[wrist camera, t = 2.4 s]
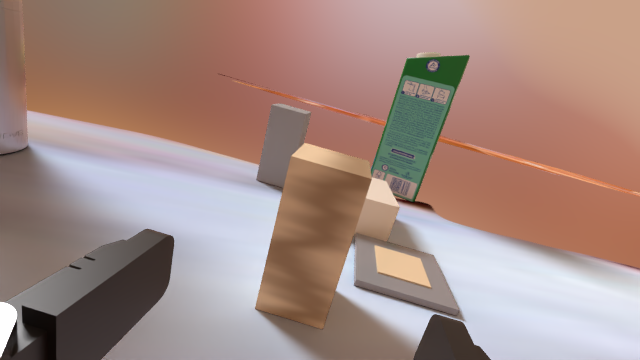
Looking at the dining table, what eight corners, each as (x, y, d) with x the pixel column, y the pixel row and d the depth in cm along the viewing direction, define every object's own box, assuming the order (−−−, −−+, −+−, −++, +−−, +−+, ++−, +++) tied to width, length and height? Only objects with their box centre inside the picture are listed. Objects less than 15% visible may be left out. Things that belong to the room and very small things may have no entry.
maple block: (254, 308, 21) (291, 155, 17) (273, 269, 25) (304, 143, 22) (322, 329, 20) (371, 178, 17) (329, 286, 25) (368, 160, 22)
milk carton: (376, 176, 64) (417, 53, 57) (418, 191, 61) (467, 64, 54) (365, 185, 56) (411, 42, 48) (413, 202, 53) (470, 54, 46)
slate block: (256, 180, 44) (271, 104, 41) (265, 171, 48) (280, 103, 45) (287, 189, 44) (306, 114, 40) (294, 180, 48) (311, 112, 45)
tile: (354, 285, 26) (356, 277, 26) (354, 237, 34) (356, 231, 34) (456, 315, 25) (460, 308, 25) (431, 259, 34) (434, 254, 34)
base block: (302, 223, 35) (313, 184, 34) (310, 195, 45) (318, 163, 43) (385, 245, 35) (399, 207, 34) (375, 212, 45) (386, 181, 43)
